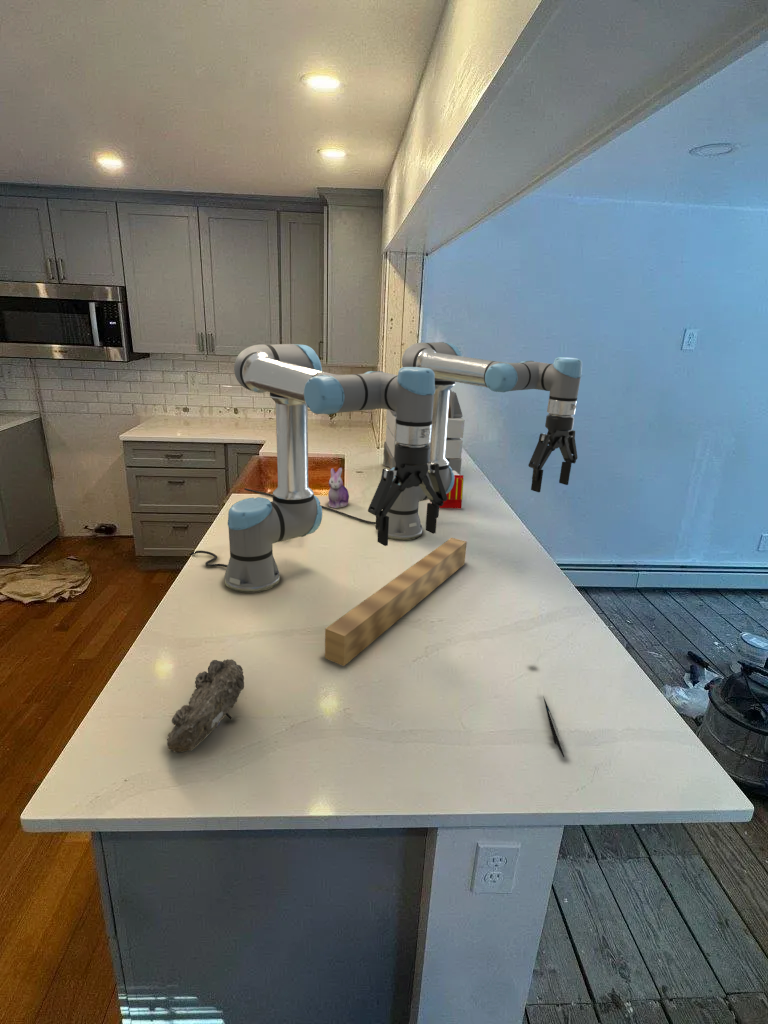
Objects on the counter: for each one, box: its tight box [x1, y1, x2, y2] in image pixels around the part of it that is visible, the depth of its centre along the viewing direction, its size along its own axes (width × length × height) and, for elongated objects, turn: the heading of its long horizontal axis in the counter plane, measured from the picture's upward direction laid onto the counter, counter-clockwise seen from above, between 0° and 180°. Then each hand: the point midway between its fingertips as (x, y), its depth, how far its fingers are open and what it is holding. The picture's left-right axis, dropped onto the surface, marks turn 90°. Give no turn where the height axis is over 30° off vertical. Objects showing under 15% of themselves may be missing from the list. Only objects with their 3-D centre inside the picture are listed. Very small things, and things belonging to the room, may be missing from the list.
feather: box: [533, 666, 565, 758], centre depth 114 cm, size 2×28×2 cm
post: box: [324, 537, 468, 667], centre depth 152 cm, size 66×5×8 cm, turn 149°
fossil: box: [166, 658, 245, 754], centre depth 106 cm, size 22×10×15 cm
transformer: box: [383, 389, 465, 475], centre depth 268 cm, size 34×33×41 cm
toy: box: [439, 471, 465, 510], centre depth 239 cm, size 12×13×30 cm
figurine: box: [327, 467, 350, 509], centre depth 223 cm, size 9×10×15 cm
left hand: (407, 537), depth 126 cm, fingers open, 13 cm apart
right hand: (549, 487), depth 166 cm, fingers open, 13 cm apart
